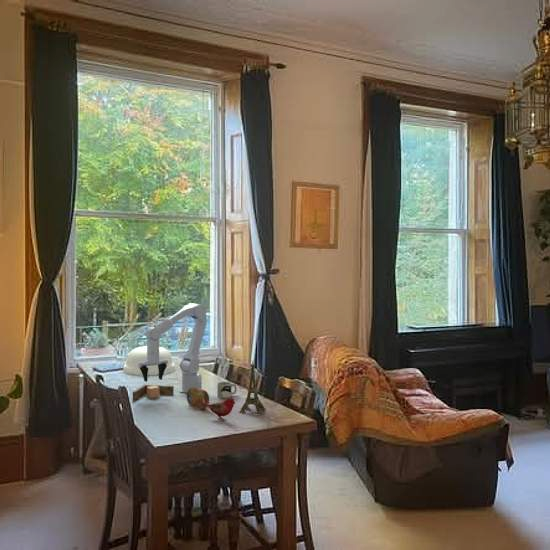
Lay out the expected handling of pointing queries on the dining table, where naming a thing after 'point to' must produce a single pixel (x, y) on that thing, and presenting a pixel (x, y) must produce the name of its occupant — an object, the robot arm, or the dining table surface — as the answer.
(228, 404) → the decorative bird figurine
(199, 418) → the dining table surface
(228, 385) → the mug
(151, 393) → the cube
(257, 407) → the eiffel tower
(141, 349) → the dome cover
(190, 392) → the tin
